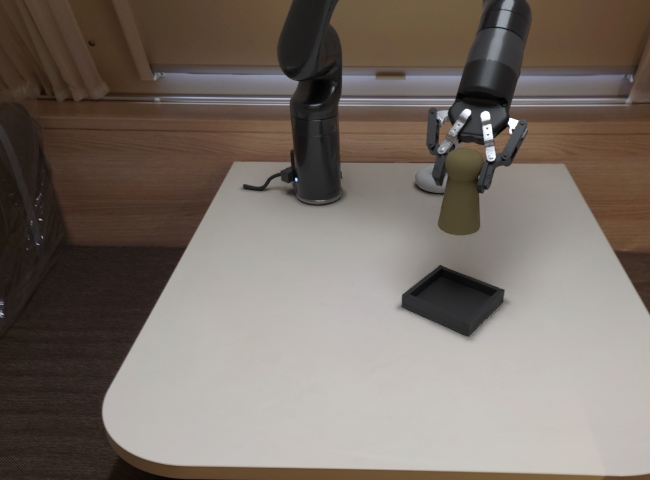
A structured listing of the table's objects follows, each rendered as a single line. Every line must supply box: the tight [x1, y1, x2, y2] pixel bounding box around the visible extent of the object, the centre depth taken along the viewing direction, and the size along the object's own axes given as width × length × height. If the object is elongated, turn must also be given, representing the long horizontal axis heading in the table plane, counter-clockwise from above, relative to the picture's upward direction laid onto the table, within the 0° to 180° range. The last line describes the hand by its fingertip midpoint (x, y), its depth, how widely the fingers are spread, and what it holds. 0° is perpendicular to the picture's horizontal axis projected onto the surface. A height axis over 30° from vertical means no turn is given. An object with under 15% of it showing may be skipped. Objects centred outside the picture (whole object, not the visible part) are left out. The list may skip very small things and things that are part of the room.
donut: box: [414, 164, 448, 194], centre depth 122 cm, size 10×4×10 cm
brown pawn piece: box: [437, 147, 485, 236], centre depth 79 cm, size 6×6×11 cm
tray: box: [401, 264, 506, 337], centre depth 87 cm, size 12×11×2 cm
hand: (458, 187), depth 77 cm, fingers closed on brown pawn piece, 5 cm apart
